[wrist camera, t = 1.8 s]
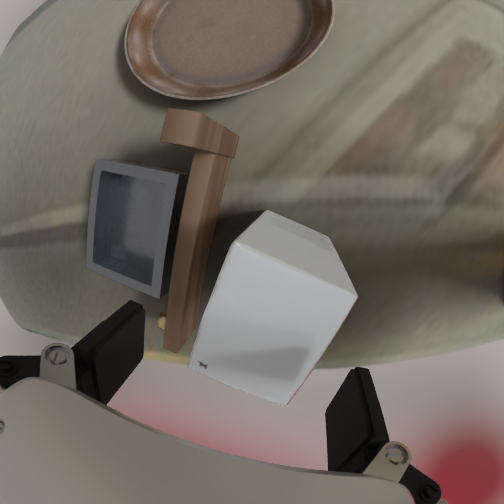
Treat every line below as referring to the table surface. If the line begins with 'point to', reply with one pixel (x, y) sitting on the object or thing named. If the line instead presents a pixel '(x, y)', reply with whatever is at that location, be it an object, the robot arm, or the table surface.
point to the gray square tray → (134, 223)
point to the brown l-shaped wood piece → (194, 216)
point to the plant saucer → (222, 43)
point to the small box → (273, 309)
